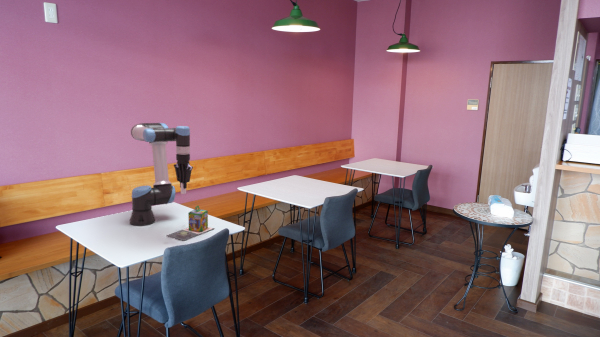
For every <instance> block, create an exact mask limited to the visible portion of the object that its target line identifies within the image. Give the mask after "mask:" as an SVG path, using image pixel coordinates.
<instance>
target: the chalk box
mask: <svg viewBox="0 0 600 337" xmlns="http://www.w3.org/2000/svg"><path fill="white" fill-rule="evenodd" d="M208 211H209V210H207V209H200V206H199V204H198V205H196V206H195V208H194V209H192V210H190V211H189V212H188V227H189V231H200V232H202V231H204V230H205V229H207V228H208V227H209V212H208Z"/></svg>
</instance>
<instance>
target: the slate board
mask: <svg viewBox="0 0 600 337" xmlns="http://www.w3.org/2000/svg"><path fill="white" fill-rule="evenodd" d="M214 230H215V228H214V227H212V226H208V228H207V229H205V230H204V231H202V232H200V231H189V226H188V227H186V228H183V229H180V230H177V231H175V232H172V233H169V234H166V237H167V236H168V238H172V239H174V238H175V240H178V241H181V242H185V241H188V240H191V239H193V238H196V237H198V236H201V235H202V234H206V233H208V232H211V231H214ZM183 231H185V232H187V234H186V235H181V234H180V232H183Z"/></svg>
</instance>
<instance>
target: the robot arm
mask: <svg viewBox="0 0 600 337" xmlns="http://www.w3.org/2000/svg"><path fill="white" fill-rule="evenodd" d="M190 130H191V129H190V127H189V126H187V125H177V126H176V127H171V128H170V127H169V126H168V125H167V124H166V123H163V122H141V123H137V124H135V125H133V126H132V127H131V129H130V135H131V137H132V138H133V139H134V140H137V141H143V142H146V143H148V144H149V145H150V146H151V149H152V161H153V162H152V164H153V170H154V183H153V184H152V186H153V187H152V186H151V185H141V186H137V187H134V188H133V189H132V191H131V208H132V212H131V214H130V219H129V224H130V225H131V226H137V227H138V226H140V227H142V226H149V225H152V224H154V223H155V221H156V219H155V215H154V212H153V210H152V208H153V206H160V205H168V204H172V203H173V202H174V201H175V198H176V188H175V186H174V185H172V184H173V183H172V182H171V181H170V179H169V168H168V158H167V157H168V156H167V146H166V145H167V144H168V142H175V152H176V154H175V155H176V156H175V159H176V163H174V164H173V167H174V170H175V175H176V181H177V182H179V188H180V194H181V195H185V194H187V188H188V185H187V184H188V183H190V180H191V176H192V175H191V174H192V170H193V168H194V166H191V165H190V160H191V154H190V153H191V131H190Z"/></svg>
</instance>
